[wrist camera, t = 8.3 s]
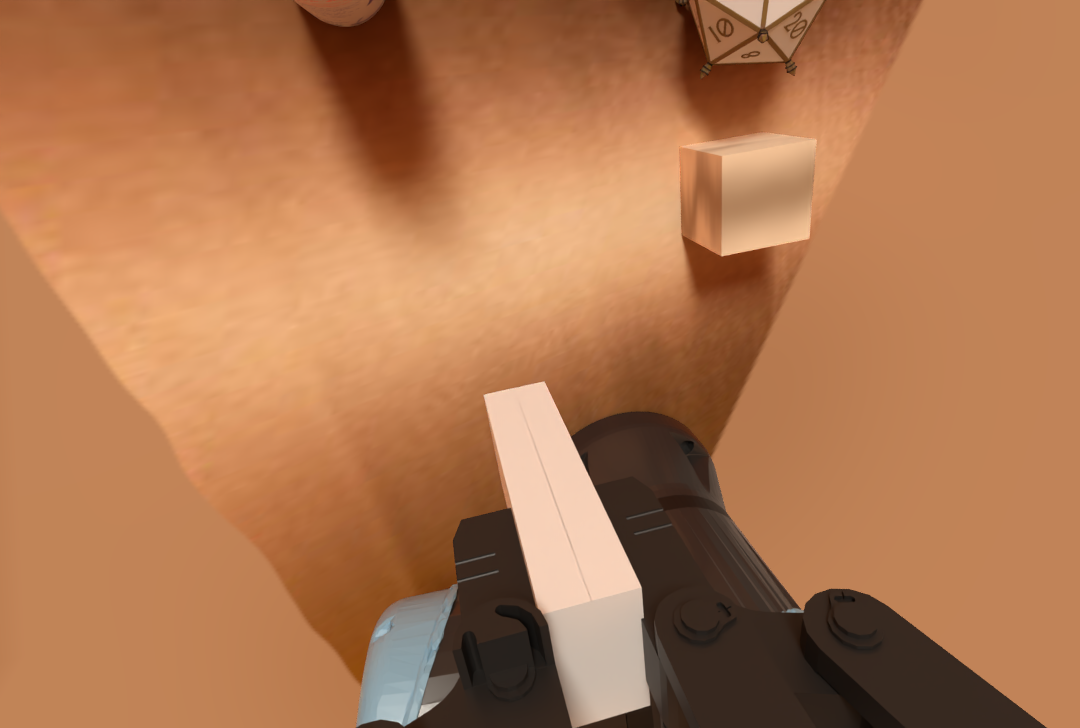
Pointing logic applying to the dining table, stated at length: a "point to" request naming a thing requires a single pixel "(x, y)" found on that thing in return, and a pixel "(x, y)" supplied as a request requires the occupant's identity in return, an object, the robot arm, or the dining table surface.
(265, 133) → the dining table surface
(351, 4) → the energy drink
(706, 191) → the beech block
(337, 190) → the dining table surface
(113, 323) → the dining table surface
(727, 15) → the game die
